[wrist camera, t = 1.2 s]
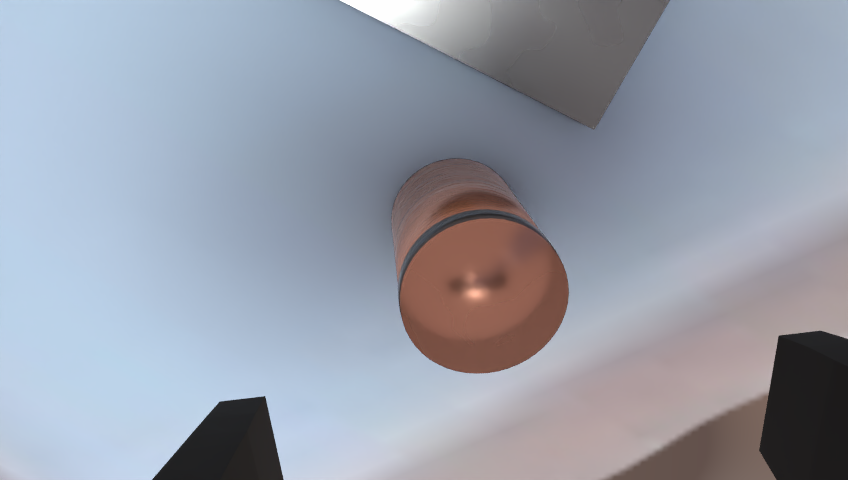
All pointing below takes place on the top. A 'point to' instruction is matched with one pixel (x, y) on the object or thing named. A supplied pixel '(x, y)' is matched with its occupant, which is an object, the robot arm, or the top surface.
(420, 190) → the round knob
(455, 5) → the collar plate
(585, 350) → the top surface
